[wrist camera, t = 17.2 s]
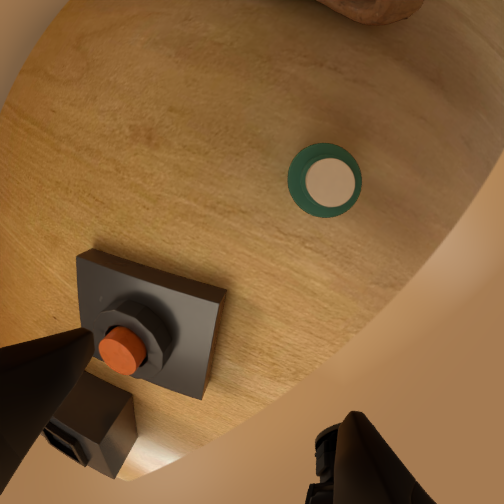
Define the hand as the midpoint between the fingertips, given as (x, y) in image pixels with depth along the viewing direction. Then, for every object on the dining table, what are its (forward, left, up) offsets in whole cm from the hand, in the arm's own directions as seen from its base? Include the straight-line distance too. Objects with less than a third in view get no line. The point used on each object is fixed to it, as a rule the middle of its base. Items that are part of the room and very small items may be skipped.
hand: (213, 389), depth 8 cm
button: (+8, +7, -8) cm, 13 cm away
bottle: (-2, -7, -12) cm, 14 cm away
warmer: (+16, +23, -12) cm, 31 cm away
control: (+8, +7, -12) cm, 16 cm away
